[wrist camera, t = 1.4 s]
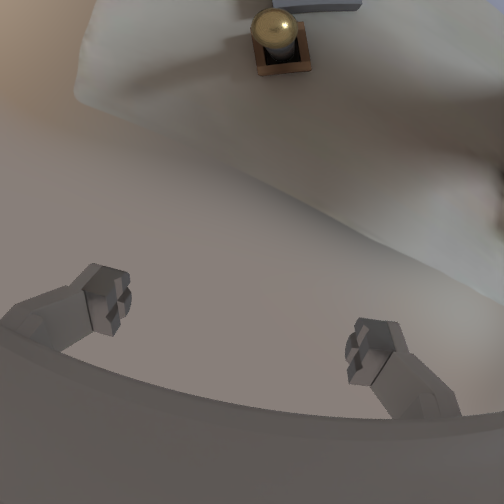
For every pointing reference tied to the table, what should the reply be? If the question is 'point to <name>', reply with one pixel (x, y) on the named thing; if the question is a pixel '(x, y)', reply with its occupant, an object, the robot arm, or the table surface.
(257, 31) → the pin
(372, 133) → the table surface
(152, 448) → the robot arm
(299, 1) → the tray
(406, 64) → the table surface
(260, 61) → the collar
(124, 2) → the table surface
